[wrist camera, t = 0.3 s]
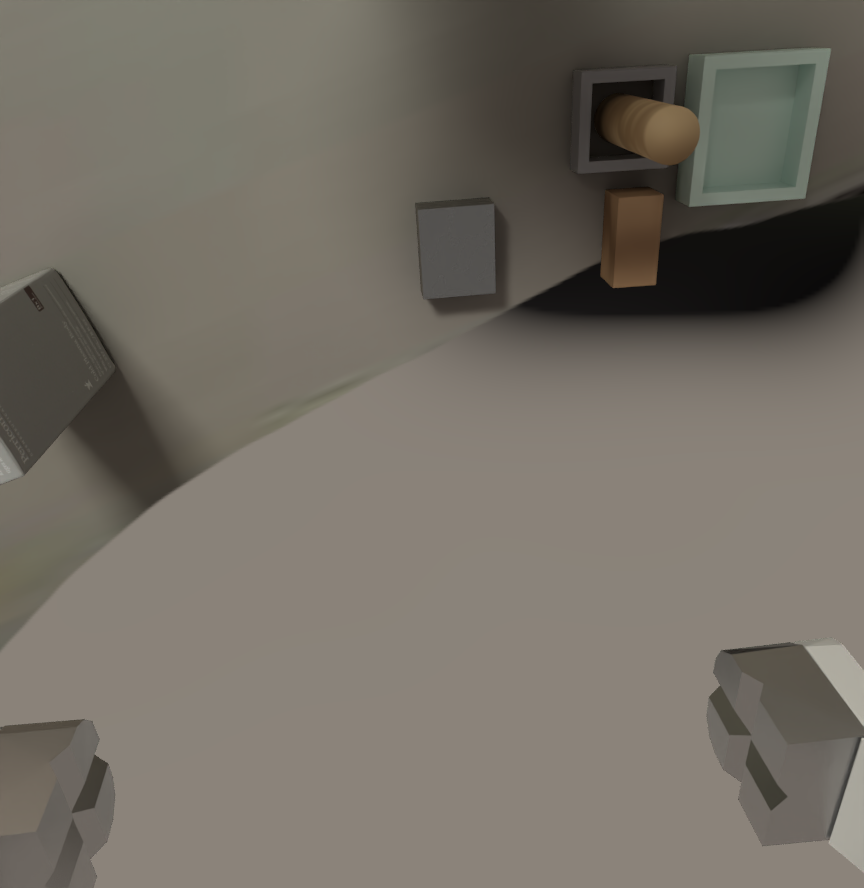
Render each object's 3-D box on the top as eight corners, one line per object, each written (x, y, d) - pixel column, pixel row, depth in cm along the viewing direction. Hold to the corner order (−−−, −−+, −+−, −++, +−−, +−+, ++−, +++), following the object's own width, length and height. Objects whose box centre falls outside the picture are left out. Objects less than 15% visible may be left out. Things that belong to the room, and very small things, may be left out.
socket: (573, 70, 49) (581, 71, 48) (665, 64, 50) (677, 65, 48) (570, 169, 52) (577, 173, 50) (657, 163, 52) (667, 167, 51)
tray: (689, 54, 50) (705, 55, 47) (809, 47, 50) (831, 48, 48) (675, 199, 54) (689, 206, 52) (786, 191, 54) (805, 198, 52)
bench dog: (605, 189, 53) (618, 198, 50) (648, 186, 53) (663, 194, 51) (600, 275, 56) (612, 288, 53) (641, 272, 56) (655, 284, 53)
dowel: (595, 94, 50) (648, 107, 41) (640, 91, 50) (703, 104, 41) (592, 143, 52) (643, 167, 43) (637, 141, 52) (696, 163, 43)
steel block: (414, 202, 52) (417, 209, 50) (488, 196, 53) (494, 203, 51) (420, 288, 55) (423, 299, 53) (489, 282, 56) (495, 293, 53)
